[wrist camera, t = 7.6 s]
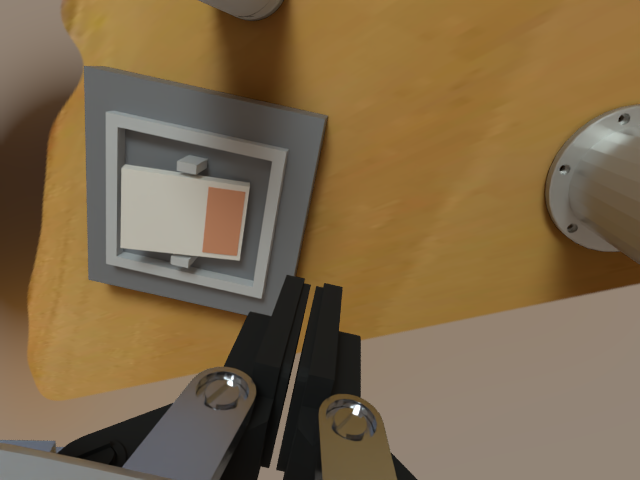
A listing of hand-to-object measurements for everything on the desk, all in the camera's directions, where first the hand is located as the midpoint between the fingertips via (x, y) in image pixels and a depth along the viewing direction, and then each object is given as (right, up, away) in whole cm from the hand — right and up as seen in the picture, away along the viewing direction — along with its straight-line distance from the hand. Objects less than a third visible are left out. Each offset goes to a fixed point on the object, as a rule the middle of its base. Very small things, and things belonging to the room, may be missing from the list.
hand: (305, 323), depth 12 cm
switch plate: (-11, +7, +28) cm, 30 cm away
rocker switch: (-11, +5, +23) cm, 26 cm away
